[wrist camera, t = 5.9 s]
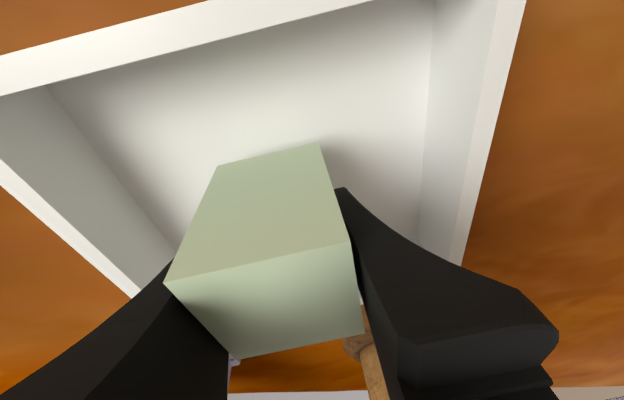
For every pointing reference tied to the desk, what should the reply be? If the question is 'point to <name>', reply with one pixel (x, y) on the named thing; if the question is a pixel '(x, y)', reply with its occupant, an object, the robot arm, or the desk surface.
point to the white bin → (255, 116)
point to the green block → (269, 256)
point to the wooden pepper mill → (367, 360)
